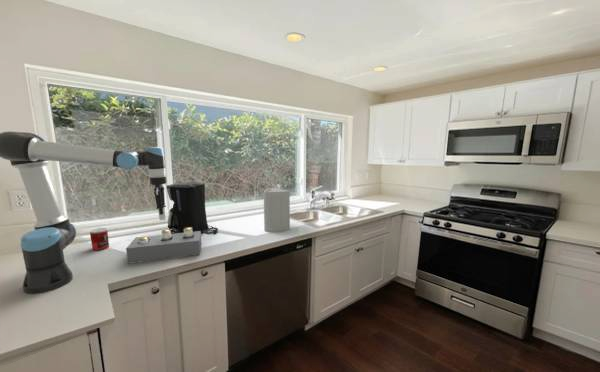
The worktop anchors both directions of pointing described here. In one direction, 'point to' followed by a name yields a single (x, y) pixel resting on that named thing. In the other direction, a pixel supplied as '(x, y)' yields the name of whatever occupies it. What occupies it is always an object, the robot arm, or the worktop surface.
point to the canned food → (99, 239)
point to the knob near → (144, 239)
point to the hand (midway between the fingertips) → (162, 219)
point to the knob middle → (166, 234)
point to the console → (164, 247)
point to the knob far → (188, 232)
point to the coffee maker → (188, 208)
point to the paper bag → (276, 210)
